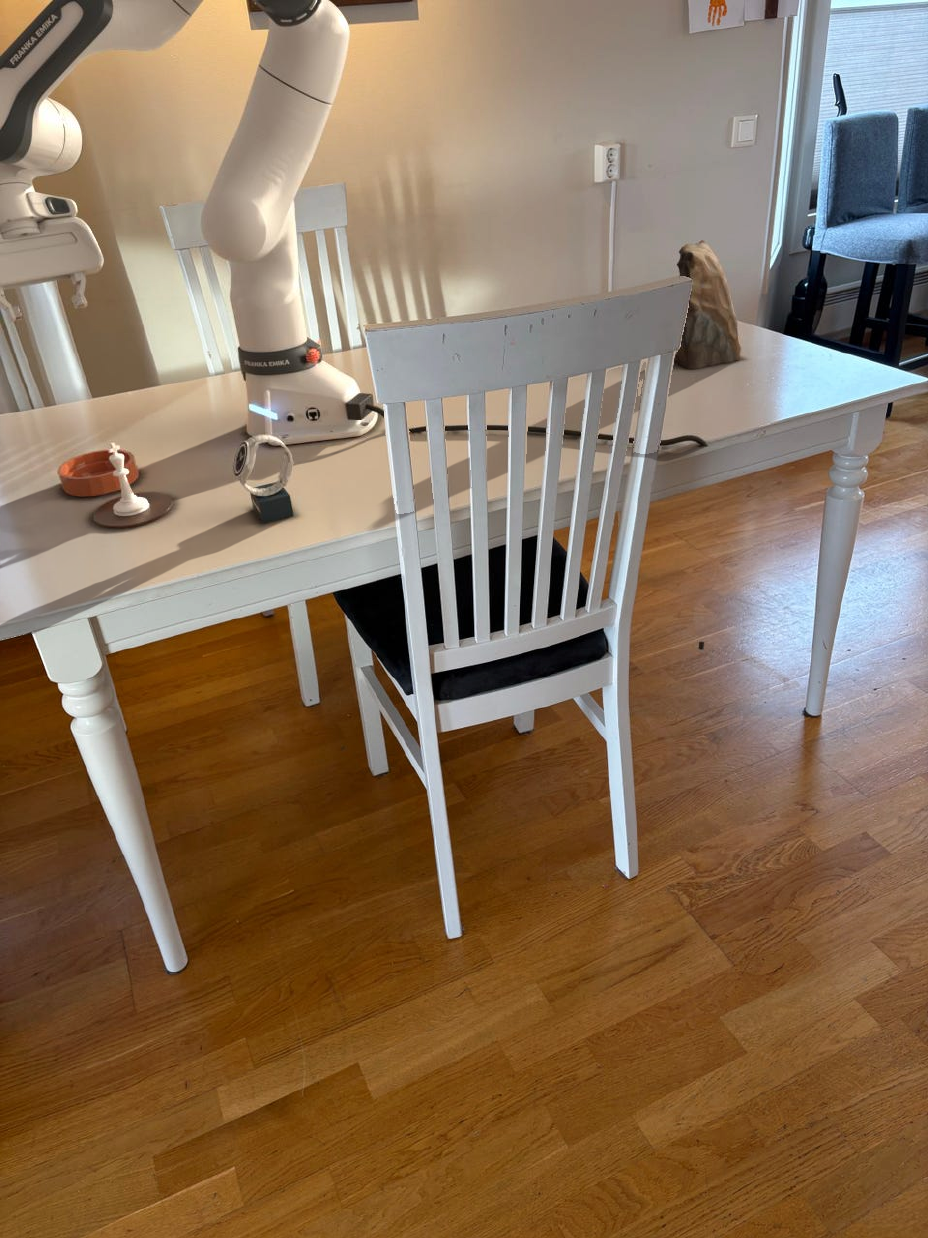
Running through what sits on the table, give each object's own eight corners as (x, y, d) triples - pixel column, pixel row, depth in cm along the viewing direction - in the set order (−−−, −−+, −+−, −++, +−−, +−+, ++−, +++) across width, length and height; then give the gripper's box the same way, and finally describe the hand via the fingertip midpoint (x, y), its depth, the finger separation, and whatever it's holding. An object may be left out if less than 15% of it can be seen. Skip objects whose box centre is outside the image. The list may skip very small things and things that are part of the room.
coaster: (182, 493, 134) (181, 490, 134) (158, 527, 125) (157, 524, 124) (111, 496, 135) (110, 493, 134) (81, 530, 126) (80, 527, 125)
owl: (686, 371, 165) (693, 256, 154) (649, 354, 175) (654, 245, 164) (743, 359, 168) (755, 246, 157) (704, 343, 178) (712, 235, 167)
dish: (149, 466, 144) (144, 447, 142) (123, 496, 134) (117, 476, 132) (81, 469, 144) (75, 450, 143) (51, 499, 135) (44, 480, 133)
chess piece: (156, 504, 130) (138, 439, 125) (129, 518, 127) (109, 452, 121) (133, 498, 132) (114, 434, 127) (106, 512, 129) (86, 446, 124)
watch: (239, 512, 127) (223, 438, 121) (294, 498, 130) (281, 425, 124) (249, 527, 123) (233, 451, 117) (306, 512, 125) (292, 438, 119)
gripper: (-66, 218, 120) (-22, 323, 123) (85, 198, 131) (122, 294, 134) (-71, 234, 125) (-28, 333, 128) (75, 213, 136) (110, 306, 139)
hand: (50, 313), depth 131 cm, fingers open, 8 cm apart
